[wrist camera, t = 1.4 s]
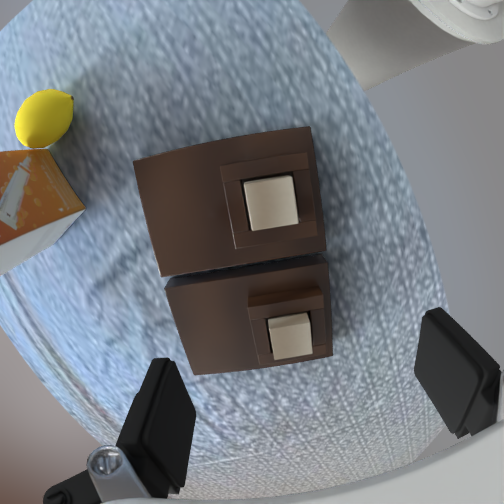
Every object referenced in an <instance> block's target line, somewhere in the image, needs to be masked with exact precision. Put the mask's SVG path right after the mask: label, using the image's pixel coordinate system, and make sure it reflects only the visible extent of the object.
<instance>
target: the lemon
mask: <svg viewBox="0 0 504 504" xmlns="http://www.w3.org/2000/svg"><path fill="white" fill-rule="evenodd" d="M73 100H74V99H73V96H71V95H69V94H67V93H65V92H62V91H58V90H55V89H47V90H42V91H38V92H36V93H34V94H33V95H32V96H30V97H29V98H27V99H26V100H25V101H24V103H23V105H22V106H21V108H20V109H19V111H18V112H17V116H16V120H15V124H14V125H15V131H16V136H17V137H18V139H19V140H20V142H21V143H22V144H23V145H25V146H27V147H30V148H33V149H34V148H44V147H46V146H48V145H50V144H52V143H54V142H56V141H58V140H59V139H60V138H61V137H62V136H63V135H64V134H65V133H66V132H67V130H68V128H69V126H70V124H71V121H72V119H73Z"/></svg>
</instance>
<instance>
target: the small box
mask: <svg viewBox="0 0 504 504" xmlns="http://www.w3.org/2000/svg"><path fill="white" fill-rule="evenodd" d="M85 209H86V207H85V206H84V205H83V203H82V202H81V201H80V200H79V198H78V197H77V195H76V194H75V192H74V191H73V189H72V188H71V186H70V185H69V183H68V182H67V180H66V179H65V177H64V176H63V174H62V172H61V171H60V169H59V167H58V166H57V164H56V162H55V161H54V159H53V157H52V155H51V154H50V152H49V150H48V149H31V150H15V151H3V152H0V276H1V275H3V274H5V273H6V272H8V271H10V270H11V269H13V268H15V267H16V266H18V265H20V264H21V263H23V262H25V261H27V260H28V259H30V258H32V257H33V256H35V255H37V254H38V253H40V252H42V251H43V250H45V249H47V248H49V247H51V246H52V245H54V244H55V242H56V241H57V240H58V239H59V238H60V237H61V236H62V234H63V233H64V232H65V231H66V230H67V229H68V228H69V226H70V225H71V224H72V223H73V222H74V221H75V220H76V219H77V218H78V217H79V216H80V215H81V214H82V213H83V212H84V211H85Z"/></svg>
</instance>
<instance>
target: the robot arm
mask: <svg viewBox="0 0 504 504" xmlns="http://www.w3.org/2000/svg"><path fill="white" fill-rule="evenodd" d="M448 1H449V2H450V3H451V4H452V5H454V6H455V7H456V8H458V9H459V10H460V11H462V12H464V13H465V14H467V15H469V16H471V17H473V18H475V19H478V20H482V21H487V20H490V19H493V18H494V17H496V15H497V13H498V8H499V7H498V2H501V1H504V0H448ZM499 368H500V366H499V364H498V363H497V362H496V361H494V359H493V358H492V357H491V356H490V355H489V354H488V353H487V352H486V351H485V350H484V349H483V348H482V347H481V346H480V345H479V344H478V343H477V342H476V341H475V340H474V339H473V338H472V337H471V336H470V335H469V334H468V333H467V332H466V331H465V330H464V329H463V328H462V327H461V326H460V325H459V324H458V323H457V322H456V321H455V320H454V319H453V318H452V317H451V316H450V315H449V314H447V313H446V312H445V311H444V310H443V309H442V308H441V307H438V308H435V309H431V310H428V311H426V313H425V315H424V316H423V317H422V323H421V330H420V337H419V344H418V350H417V355H416V361H415V366H414V373H415V376H416V378H417V379H418V381H419V382H420V384H421V385H422V387H423V388H424V390H425V392H426V393H427V395H428V396H429V398H430V399H431V401H432V403H433V404H434V406H435V407H436V409H437V411H438V412H439V414H440V416H441V417H442V419H443V421H444V422H445V424H446V426H447V427H448V429H449V431H450V432H451V433H455V435H456V436H457V438H458V439H459V438H460V437H463V436H464V435H466V434H468V433H469V432H470V434H471V437H469V438H467V439H465V440H463V441H461V442H459V443H457V444H455V445H453V446H451V447H449V448H447V449H445V450H443V451H440V452H438V453H436V454H434V455H432V456H429V457H427V458H424V459H422V460H420V461H417V462H414V463H412V464H409V465H406V466H404V467H401V468H398V469H395V470H392V471H389V472H386V473H383V474H380V475H377V476H373V477H370V478H367V479H363V480H359V481H356V482H352V483H348V484H344V485H340V486H335V487H331V488H326V489H321V490H315V491H310V492H304V493H298V494H291V495H283V496H275V497H265V498H253V499H233V500H187V499H167V497H168V494H179V491H180V487H184V485H185V480H186V474H187V468H188V461H189V455H190V449H191V443H192V437H193V432H194V426H195V420H196V411H195V408H194V405H193V403H192V401H191V399H190V396H189V394H188V392H187V389H186V387H185V385H184V382H183V380H182V378H181V375H180V373H179V370H178V368H177V366H176V363H175V362H174V361H171V360H170V359H169V358H154V359H153V360H152V362H151V364H150V366H149V369H148V371H147V374H146V376H145V378H144V381H143V383H142V386H141V388H140V391H139V392H138V393H137V394H136V396H135V397H134V400H133V402H132V405H131V407H130V410H129V412H128V415H127V417H126V420H125V422H124V425H123V427H122V430H121V433H120V435H119V438H118V440H117V443H116V446H112V445H104V446H101V447H99V448H97V449H95V450H94V451H93V452H92V453H91V454H90V455H89V457H88V459H87V470H85V471H83V472H81V473H79V474H77V475H75V476H73V477H71V478H69V479H67V480H65V481H63V482H61V483H59V484H57V485H54V486H52V487H51V488H49V489H48V490H47V491H46V493H45V495H44V498H43V504H504V370H503V372H501V371H500V370H499Z"/></svg>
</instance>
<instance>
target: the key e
mask: <svg viewBox="0 0 504 504" xmlns="http://www.w3.org/2000/svg"><path fill="white" fill-rule="evenodd" d="M268 322H269V331H270V337H271V342H272V348H273V354H274V359H275V360H278V359H284V358H290V357H296V356H302V355H307V354H312V353H313V351H312V339H311V327H310V321H309V318H308V315H307V312H300V313H295V314H289V315H283V316H277V317H271V318H268Z"/></svg>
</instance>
